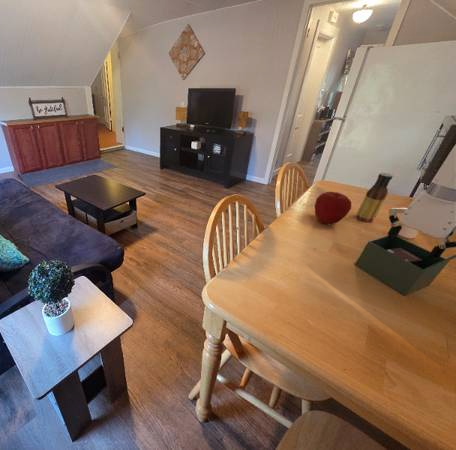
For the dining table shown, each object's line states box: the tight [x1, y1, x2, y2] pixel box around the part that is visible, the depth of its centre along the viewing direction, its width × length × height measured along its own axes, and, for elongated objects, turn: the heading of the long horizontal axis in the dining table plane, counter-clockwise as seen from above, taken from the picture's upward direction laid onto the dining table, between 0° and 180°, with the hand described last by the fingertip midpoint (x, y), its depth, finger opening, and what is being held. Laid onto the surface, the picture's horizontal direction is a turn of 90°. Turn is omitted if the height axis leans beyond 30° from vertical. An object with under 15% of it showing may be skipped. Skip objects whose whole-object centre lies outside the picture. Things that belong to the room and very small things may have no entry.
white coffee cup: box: [397, 225, 420, 240], centre depth 90 cm, size 7×7×15 cm
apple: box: [314, 191, 352, 225], centre depth 98 cm, size 12×12×13 cm
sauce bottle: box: [356, 172, 393, 223], centre depth 99 cm, size 7×6×20 cm
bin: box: [354, 235, 450, 297], centre depth 72 cm, size 14×12×9 cm
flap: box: [426, 254, 456, 269], centre depth 61 cm, size 7×12×1 cm
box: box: [387, 248, 422, 266], centre depth 73 cm, size 6×6×7 cm
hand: (409, 247), depth 69 cm, fingers open, 9 cm apart
